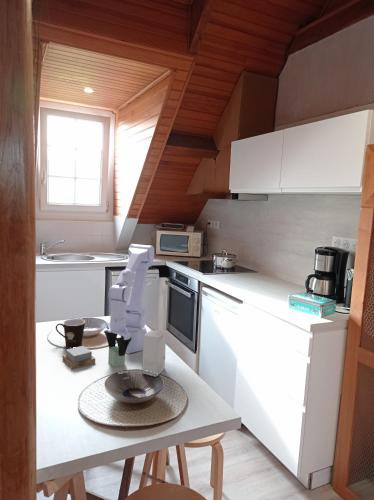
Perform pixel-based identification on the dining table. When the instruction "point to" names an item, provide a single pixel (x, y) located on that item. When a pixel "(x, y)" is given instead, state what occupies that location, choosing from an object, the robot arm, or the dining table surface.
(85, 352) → the grey square slab
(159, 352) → the skincare box
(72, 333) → the coffee mug
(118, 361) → the green column
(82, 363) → the tan square slab
